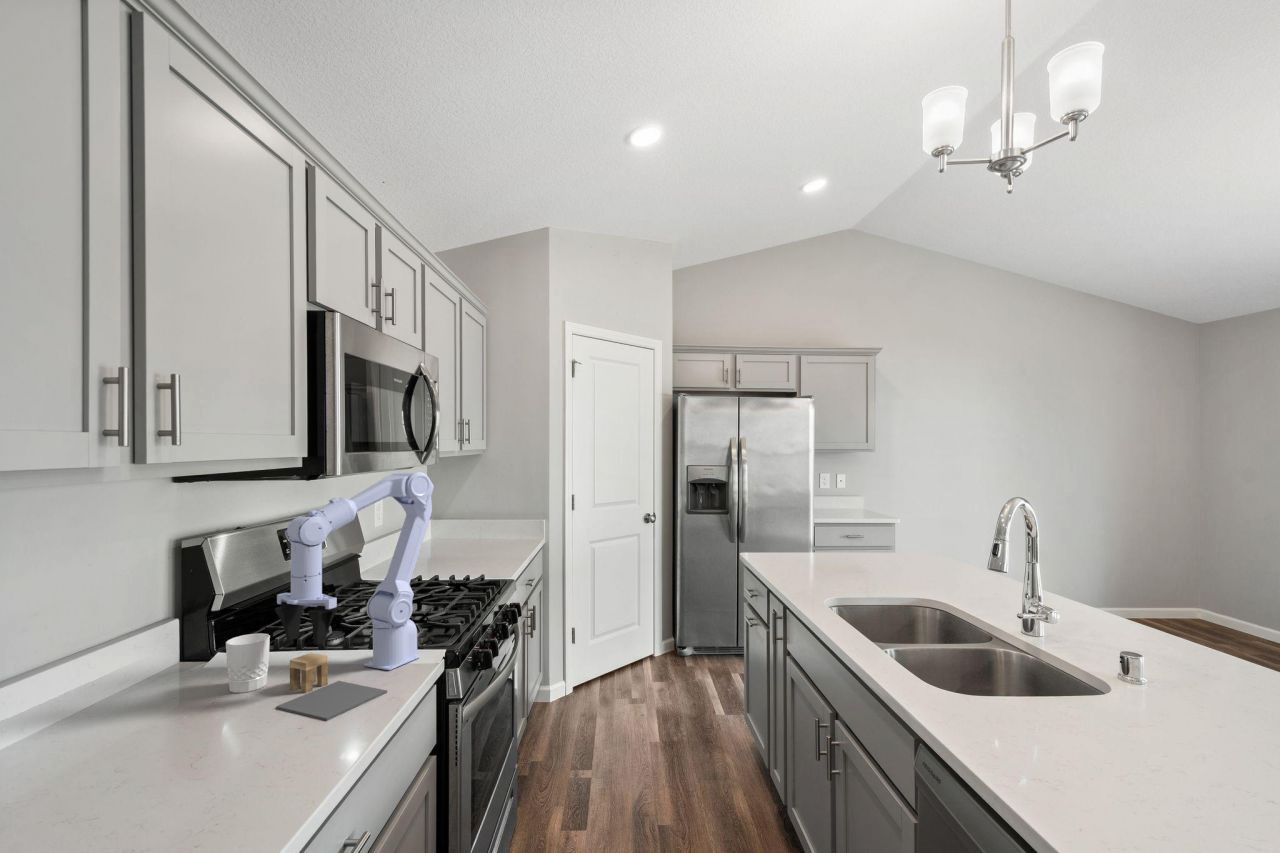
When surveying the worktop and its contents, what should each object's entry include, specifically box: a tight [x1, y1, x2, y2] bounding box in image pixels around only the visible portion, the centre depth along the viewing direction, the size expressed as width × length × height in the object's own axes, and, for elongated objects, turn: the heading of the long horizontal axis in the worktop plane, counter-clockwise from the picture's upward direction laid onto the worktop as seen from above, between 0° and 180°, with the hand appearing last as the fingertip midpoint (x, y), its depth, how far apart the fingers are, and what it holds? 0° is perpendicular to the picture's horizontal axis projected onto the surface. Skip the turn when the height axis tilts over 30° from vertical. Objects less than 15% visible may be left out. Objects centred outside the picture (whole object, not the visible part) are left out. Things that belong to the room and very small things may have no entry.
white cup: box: [225, 633, 271, 694], centre depth 133 cm, size 8×8×10 cm
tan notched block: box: [289, 652, 329, 694], centre depth 132 cm, size 5×5×6 cm
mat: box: [276, 680, 388, 721], centre depth 125 cm, size 14×14×1 cm
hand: (306, 641), depth 130 cm, fingers open, 7 cm apart
